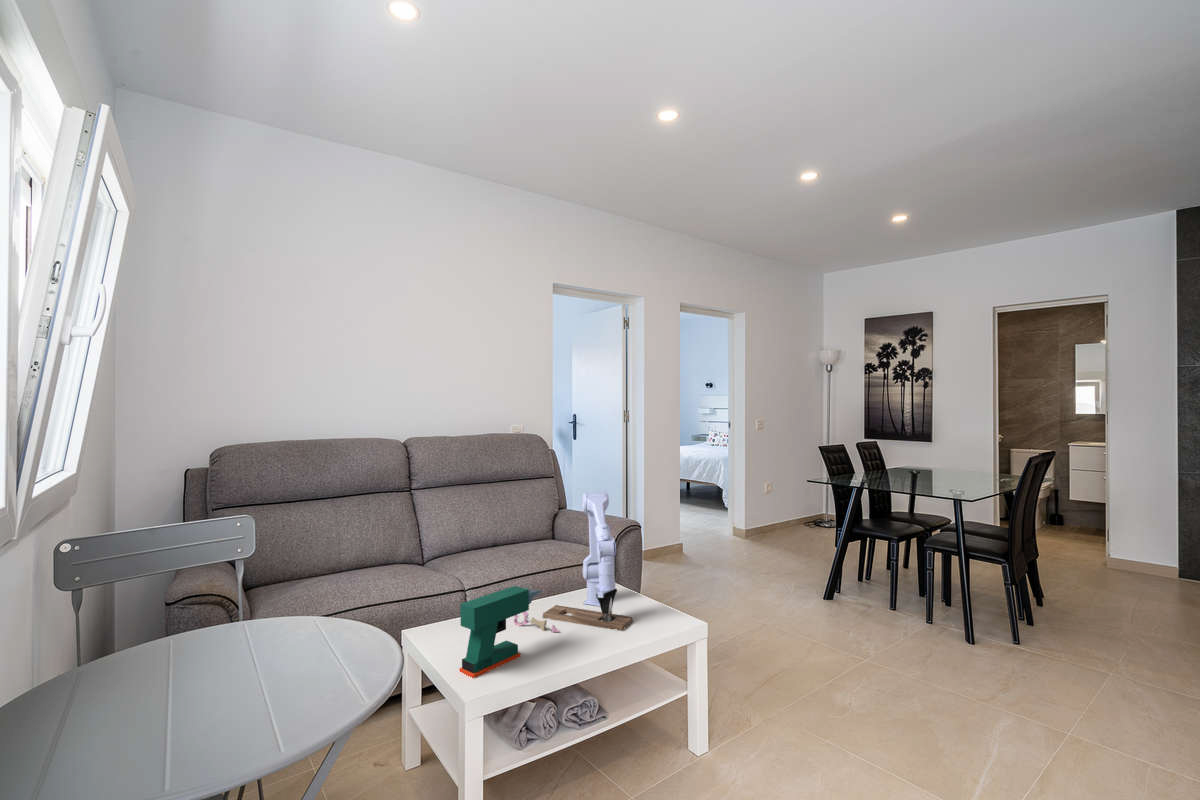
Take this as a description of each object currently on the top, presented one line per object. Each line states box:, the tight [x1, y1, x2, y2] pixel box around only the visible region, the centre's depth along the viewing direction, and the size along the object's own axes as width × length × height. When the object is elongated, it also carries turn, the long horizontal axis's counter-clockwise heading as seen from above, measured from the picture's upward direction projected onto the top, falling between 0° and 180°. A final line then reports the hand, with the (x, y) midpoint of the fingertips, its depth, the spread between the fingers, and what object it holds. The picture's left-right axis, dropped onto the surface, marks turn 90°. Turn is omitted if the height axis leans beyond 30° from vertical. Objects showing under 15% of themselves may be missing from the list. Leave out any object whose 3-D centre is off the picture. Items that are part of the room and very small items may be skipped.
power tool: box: [459, 585, 543, 679], centre depth 180 cm, size 32×7×20 cm, turn 141°
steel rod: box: [602, 597, 613, 622], centre depth 207 cm, size 4×4×8 cm
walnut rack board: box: [542, 604, 634, 631], centre depth 210 cm, size 10×32×2 cm, turn 65°
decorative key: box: [513, 611, 560, 633], centre depth 202 cm, size 7×1×20 cm
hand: (606, 611), depth 207 cm, fingers closed on steel rod, 4 cm apart
